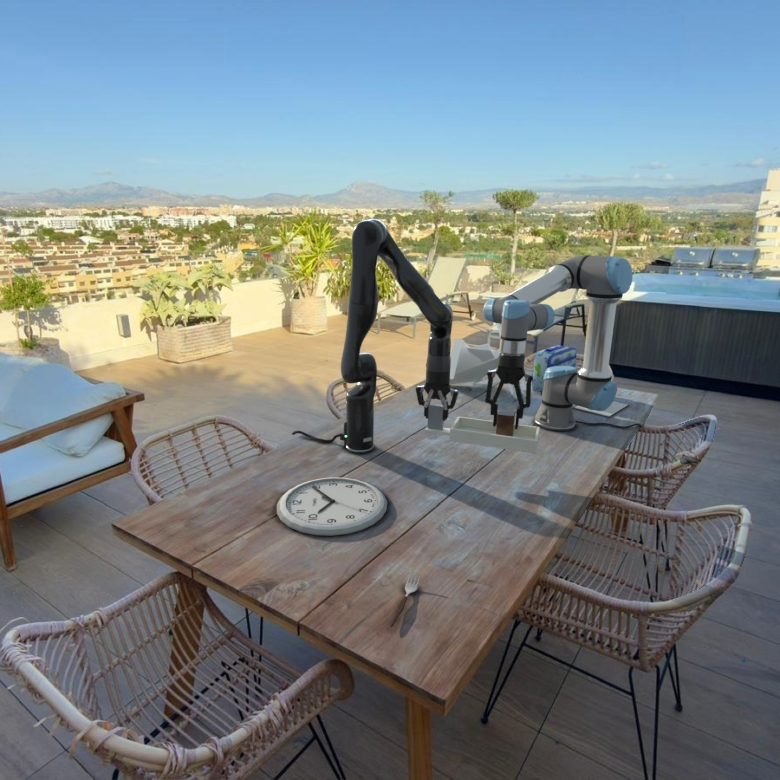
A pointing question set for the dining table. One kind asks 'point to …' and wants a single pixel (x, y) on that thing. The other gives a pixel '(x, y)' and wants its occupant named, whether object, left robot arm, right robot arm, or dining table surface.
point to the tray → (482, 432)
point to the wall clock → (331, 506)
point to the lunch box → (551, 363)
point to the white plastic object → (475, 363)
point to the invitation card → (609, 411)
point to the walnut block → (505, 423)
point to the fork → (409, 589)
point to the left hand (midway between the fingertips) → (435, 418)
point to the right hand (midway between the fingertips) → (505, 426)
